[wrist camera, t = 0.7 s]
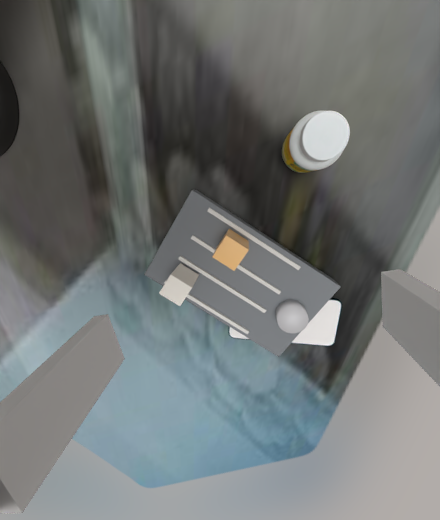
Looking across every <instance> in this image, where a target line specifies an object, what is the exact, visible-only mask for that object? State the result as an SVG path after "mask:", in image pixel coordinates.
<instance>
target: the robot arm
mask: <svg viewBox="0 0 440 520" xmlns="http://www.w3.org/2000/svg"><path fill="white" fill-rule="evenodd" d="M17 125H18V105H17V99H16V95H15V91H14V88H13V85H12V82H11V80H10V78H9V76H8V74H7V72H6V70H5V68H4V67H3V65H2V64H1V62H0V155H2V154H3V153H4V152H5V151H6V150H7V149H8V148H9V146H10V145H11V143H12V141H13V139H14V137H15V134H16V130H17ZM381 283H382V318H383V327H384V328H385V329H386V331H387V332H388V333H389V334H390V335H392V337H393V338H394V339H395V340H396V341H397V342H398V343H399V344H400V345H401V346H402V347H403V348H404V349H405V351H406V352H407V353H408V354H409V355H410V356H411V357H412V358H413V359H414V360H415V361H416V362H417V363H418V364H419V365H420V366H421V367H422V368H423V369H424V371H425V372H427V374H428V375H429V376H430V377H431V378H432V379H433V380H434V381H435V382H436V383H437V384H438V385H439V386H440V292H439V291H438V290H436V289H434V288H432V287H431V286H429V285H427V284H425V283H423V282H422V281H420V280H418V279H416V278H415V277H413V276H411V275H409V274H408V273H406V272H404V271H402V270H401V269H398V270H392V271H385V272H381ZM124 359H125V358H124V356H123V353H122V350H121V348H120V345H119V343H118V340H117V337H116V335H115V332H114V329H113V327H112V324H111V321H110V319H109V316H108V314H106V315H100V316H94V317H93V318H92V319H91V320H90V321H89V322H88V323H87V324H85V325H84V326H83V327H82V328H81V329H80V330H79V331H78V332H77V333H76V334H75V335H73V336H72V337H71V338H70V339H69V340H68V341H67V342H66V343H65V344H64V345H62V346H61V347H60V348H59V349H58V350H57V351H56V352H55V353H54V354H53V355H52V356H50V357H49V358H48V359H47V360H46V361H45V362H44V363H43V364H42V365H41V366H40V367H38V368H37V369H36V370H35V371H34V372H33V373H32V374H31V375H30V376H29V377H28V378H26V379H25V380H24V381H23V382H22V383H21V384H20V385H19V386H18V387H17V388H16V389H14V390H13V391H12V392H11V393H10V394H9V395H8V396H7V397H6V398H5V399H4V400H2V401H1V402H0V513H23V511H24V510H25V508H26V506H27V505H28V504H29V502H30V501H31V499H32V498H33V496H34V494H35V493H36V491H37V490H38V488H39V487H40V486H41V484H42V482H43V481H44V479H45V478H46V476H47V475H48V474H49V472H50V470H51V469H52V467H53V466H54V464H55V463H56V461H57V460H58V458H59V457H60V455H61V454H62V452H63V451H64V449H65V448H66V446H67V445H68V443H69V442H70V440H71V439H72V437H73V436H74V434H75V433H76V431H77V430H78V428H79V427H80V425H81V424H82V422H83V421H84V419H85V418H86V416H87V415H88V413H89V412H90V410H91V409H92V407H93V406H94V404H95V403H96V401H97V400H98V398H99V397H100V395H101V394H102V392H103V391H104V389H105V388H106V386H107V385H108V383H109V382H110V380H111V379H112V377H113V376H114V374H115V373H116V371H117V370H118V368H119V367H120V365H121V364H122V362H123V360H124Z"/></svg>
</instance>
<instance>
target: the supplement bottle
mask: <svg viewBox="0 0 440 520" xmlns="http://www.w3.org/2000/svg"><path fill="white" fill-rule="evenodd" d="M349 134H350V130H349V125H348V122H347V120H346V119H345V118H344V117H343V116H342V115H341V114H340V113H338V112H335V111H315V112H312V113H309V114H307V115H306V116H304V117H303V118H302V119H301V120H300V121H299V122H298V123H297V124H296V125H295V126H294V128H293V129H292V130H291V132H290V133H289V134H288V136H287V137H286V139H285V141H284V143H283V146H282V157H283V160H284V162H285V164H286V165H287V166H288V167H289V168H290V169H291V170H293V171H295V172H300V173H304V172H310V171H315V170H320V169H324V168H326V167H328V166H330V165H331V164H333V163H334V162H335V161H336V160H337V159H338V158H339V157H340V155H341V154H342V152H343V150H344V148H345V147H346V145H347V143H348V140H349Z"/></svg>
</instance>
